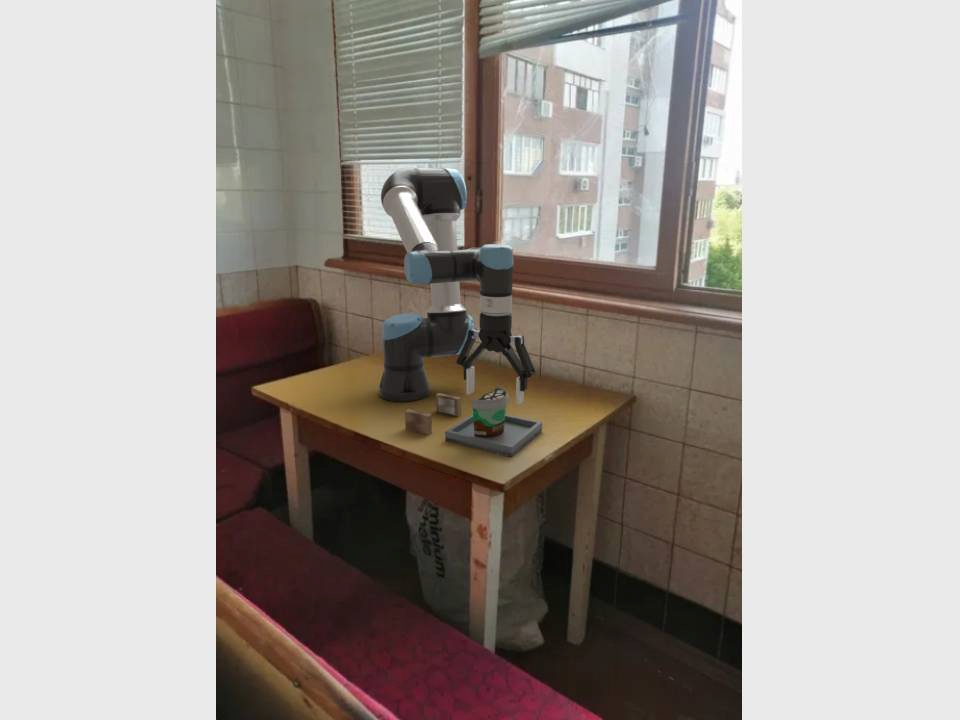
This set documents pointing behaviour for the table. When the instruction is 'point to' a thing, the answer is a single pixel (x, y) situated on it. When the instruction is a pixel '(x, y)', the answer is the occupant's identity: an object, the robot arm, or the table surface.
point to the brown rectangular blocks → (444, 405)
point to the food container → (490, 413)
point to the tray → (506, 443)
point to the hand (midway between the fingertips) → (494, 397)
